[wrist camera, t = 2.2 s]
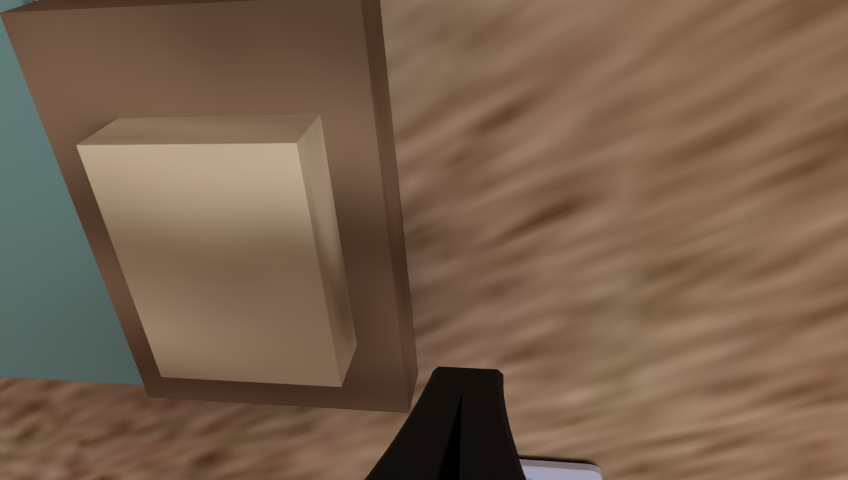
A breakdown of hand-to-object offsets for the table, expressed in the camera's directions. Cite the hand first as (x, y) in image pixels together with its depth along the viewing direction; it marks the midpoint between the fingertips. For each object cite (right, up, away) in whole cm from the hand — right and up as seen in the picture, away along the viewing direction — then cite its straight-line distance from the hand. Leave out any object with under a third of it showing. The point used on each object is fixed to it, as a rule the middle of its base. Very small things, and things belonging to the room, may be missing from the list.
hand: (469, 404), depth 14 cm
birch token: (-6, +3, +7) cm, 10 cm away
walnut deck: (-7, +4, +8) cm, 12 cm away
